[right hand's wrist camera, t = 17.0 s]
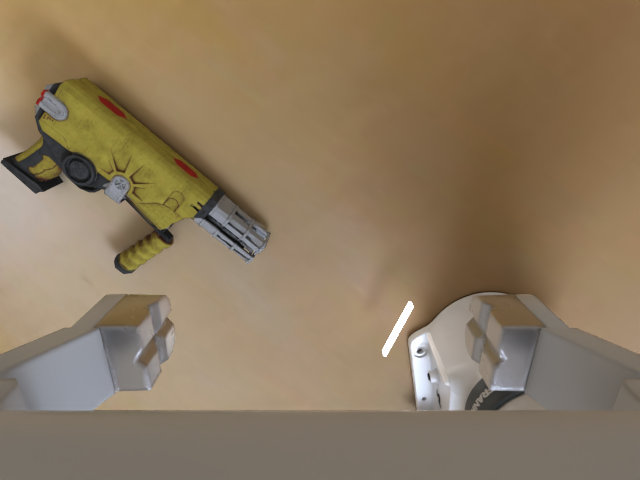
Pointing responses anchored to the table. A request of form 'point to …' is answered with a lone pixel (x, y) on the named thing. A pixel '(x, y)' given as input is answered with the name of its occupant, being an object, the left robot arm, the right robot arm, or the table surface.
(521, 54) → the table surface
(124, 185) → the toy gun
